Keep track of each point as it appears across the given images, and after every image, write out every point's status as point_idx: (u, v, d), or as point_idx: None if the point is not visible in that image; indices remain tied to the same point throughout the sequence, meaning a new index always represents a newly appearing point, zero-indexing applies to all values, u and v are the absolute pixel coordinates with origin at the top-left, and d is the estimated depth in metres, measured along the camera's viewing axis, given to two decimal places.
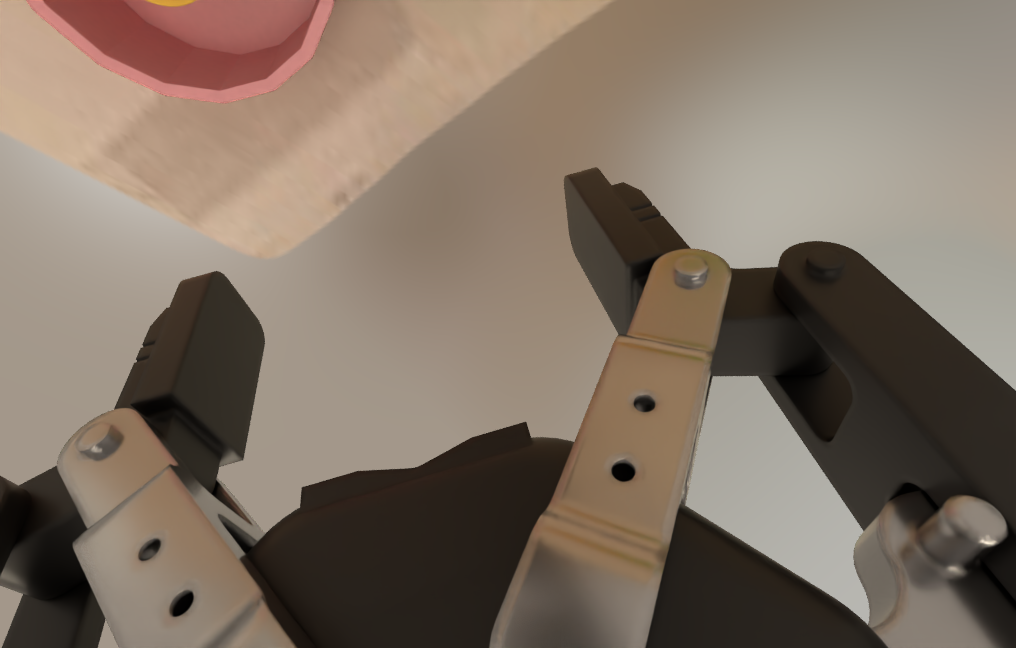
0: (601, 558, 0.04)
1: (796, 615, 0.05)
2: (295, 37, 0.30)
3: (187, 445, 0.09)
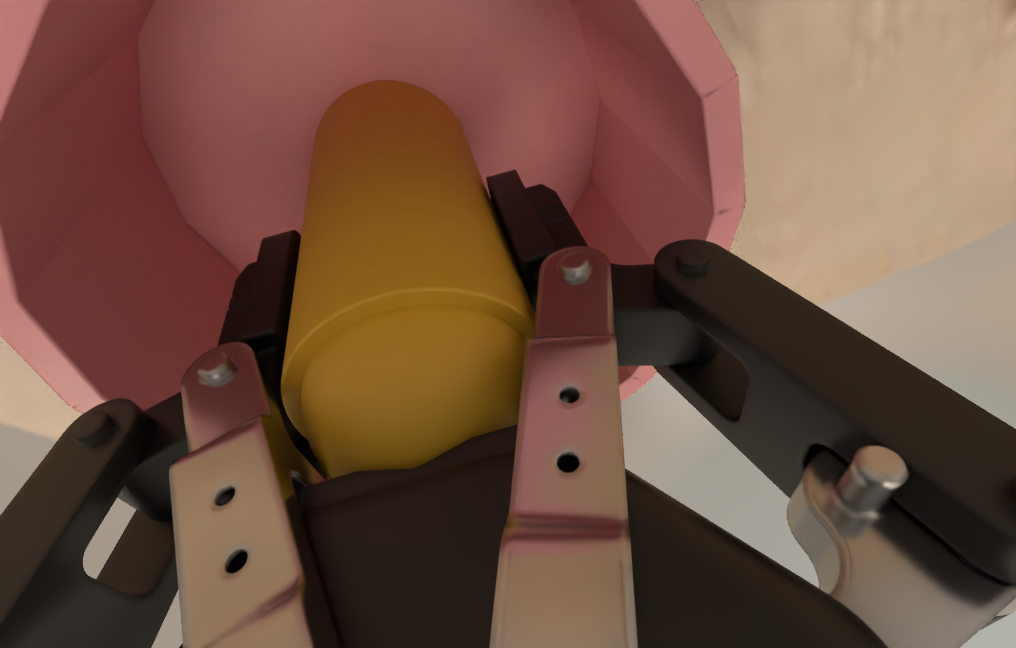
0: (573, 550, 0.05)
1: (796, 615, 0.05)
2: None
3: None
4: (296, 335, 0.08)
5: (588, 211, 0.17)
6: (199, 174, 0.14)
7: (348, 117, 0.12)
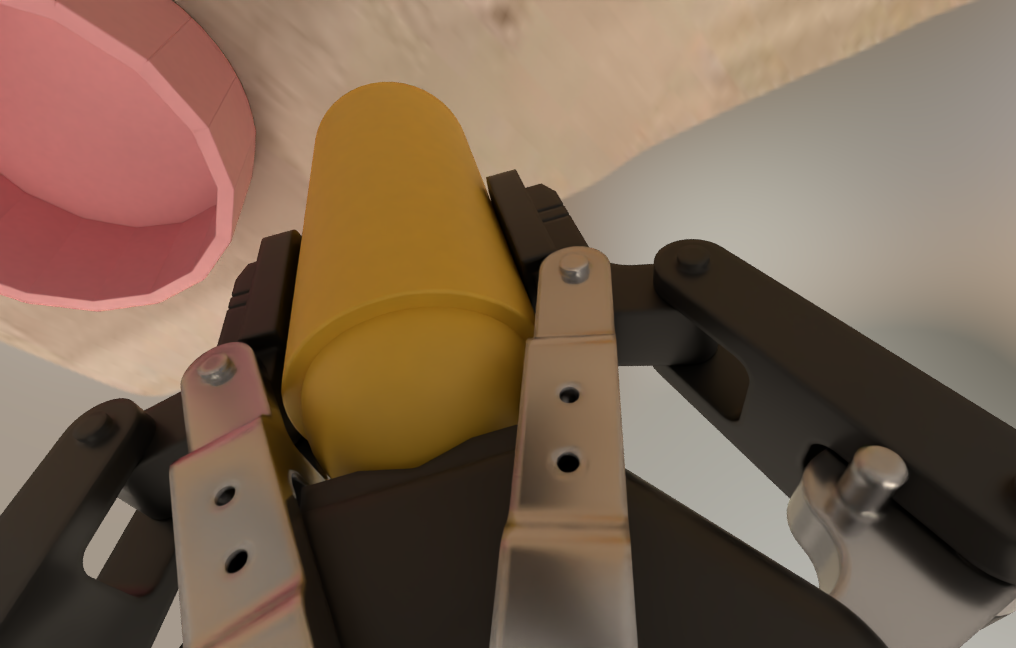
0: (572, 549, 0.05)
1: (796, 615, 0.05)
2: (196, 232, 0.28)
3: None
4: (297, 337, 0.08)
5: None
6: None
7: (348, 118, 0.12)
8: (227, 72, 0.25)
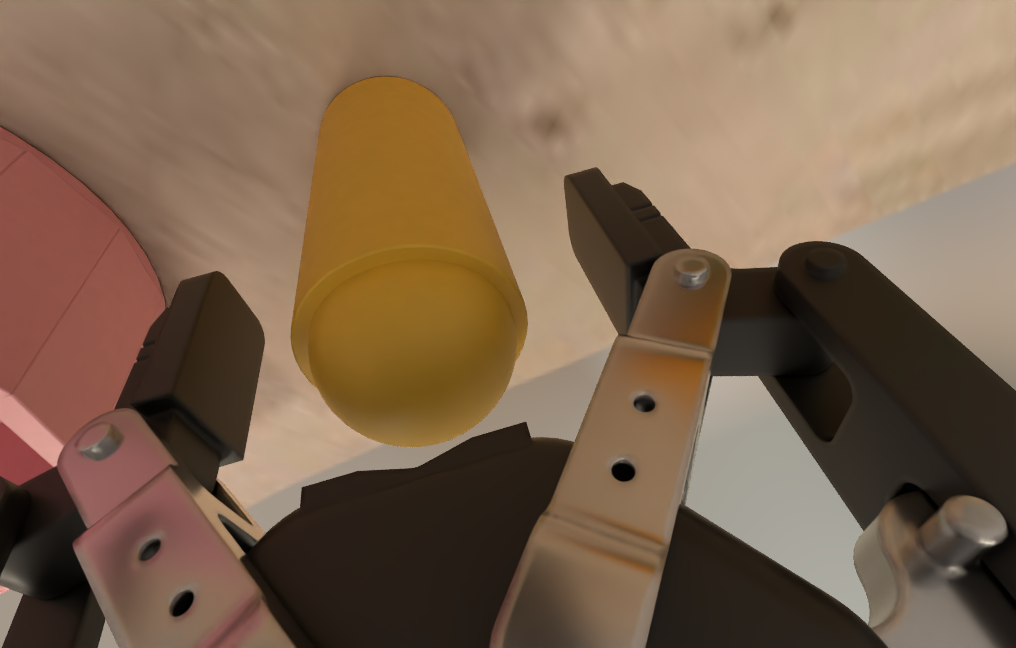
0: (601, 558, 0.04)
1: (796, 615, 0.05)
2: None
3: (187, 445, 0.09)
4: (304, 287, 0.09)
5: None
6: None
7: (350, 108, 0.14)
8: (98, 232, 0.15)
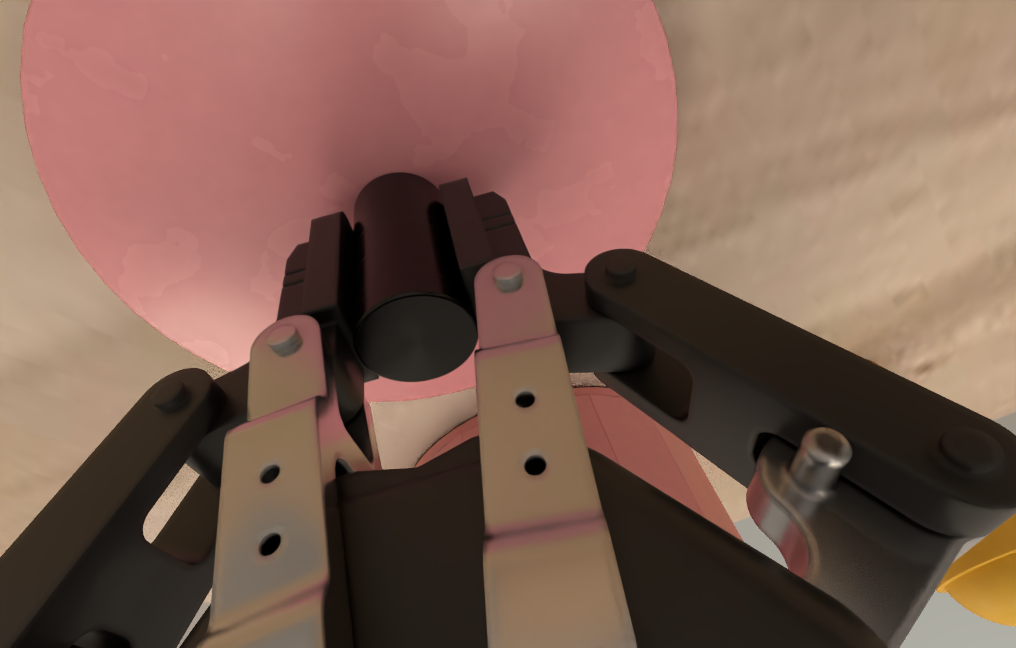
0: (554, 549, 0.05)
1: (796, 615, 0.05)
2: None
3: (346, 355, 0.09)
4: (976, 555, 0.19)
5: None
6: None
7: None
8: None
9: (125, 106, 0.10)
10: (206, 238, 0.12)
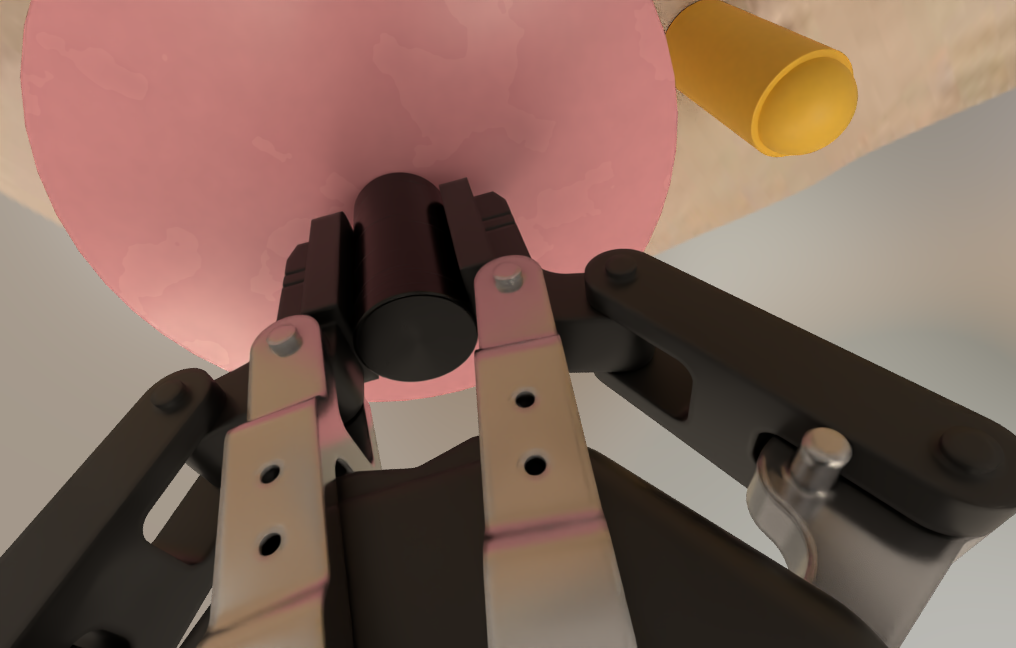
0: (555, 549, 0.05)
1: (796, 615, 0.05)
2: None
3: (346, 354, 0.09)
4: (774, 71, 0.21)
5: None
6: None
7: (711, 12, 0.25)
8: None
9: (126, 106, 0.10)
10: (206, 238, 0.12)
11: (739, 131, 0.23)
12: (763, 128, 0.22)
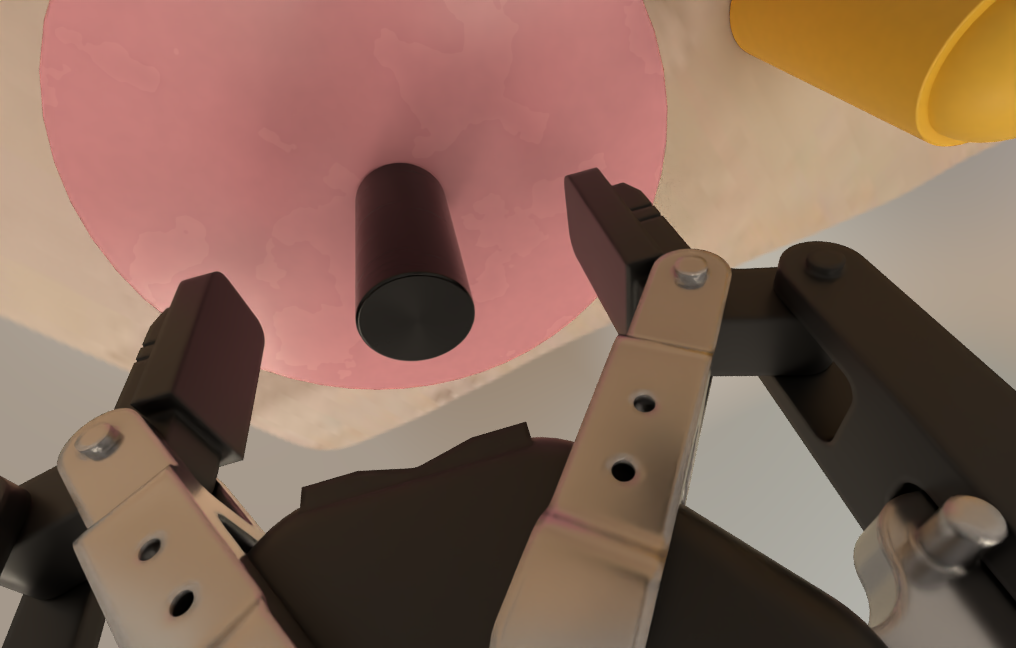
0: (600, 558, 0.04)
1: (796, 615, 0.05)
2: None
3: (187, 445, 0.09)
4: None
5: None
6: None
7: None
8: None
9: (139, 98, 0.11)
10: (214, 226, 0.13)
11: (884, 105, 0.15)
12: (943, 96, 0.13)
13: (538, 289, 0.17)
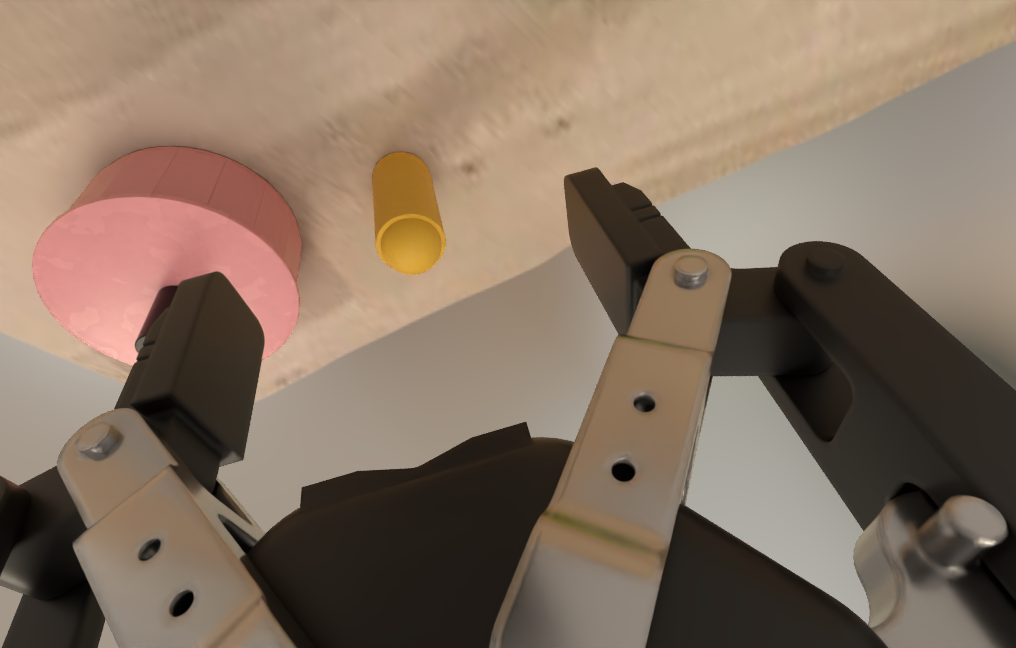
0: (601, 558, 0.04)
1: (796, 615, 0.05)
2: None
3: (187, 445, 0.09)
4: (380, 226, 0.32)
5: None
6: None
7: (387, 166, 0.37)
8: (287, 213, 0.38)
9: (66, 271, 0.31)
10: (100, 309, 0.33)
11: None
12: (385, 258, 0.33)
13: None
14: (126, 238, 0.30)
